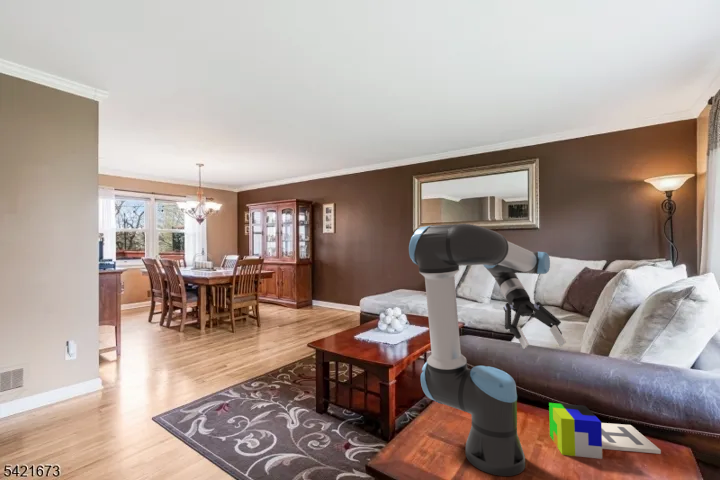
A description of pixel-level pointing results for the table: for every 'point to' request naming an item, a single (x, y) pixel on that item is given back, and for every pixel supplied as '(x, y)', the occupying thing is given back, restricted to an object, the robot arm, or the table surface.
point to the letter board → (625, 439)
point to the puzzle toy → (575, 430)
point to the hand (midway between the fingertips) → (544, 345)
